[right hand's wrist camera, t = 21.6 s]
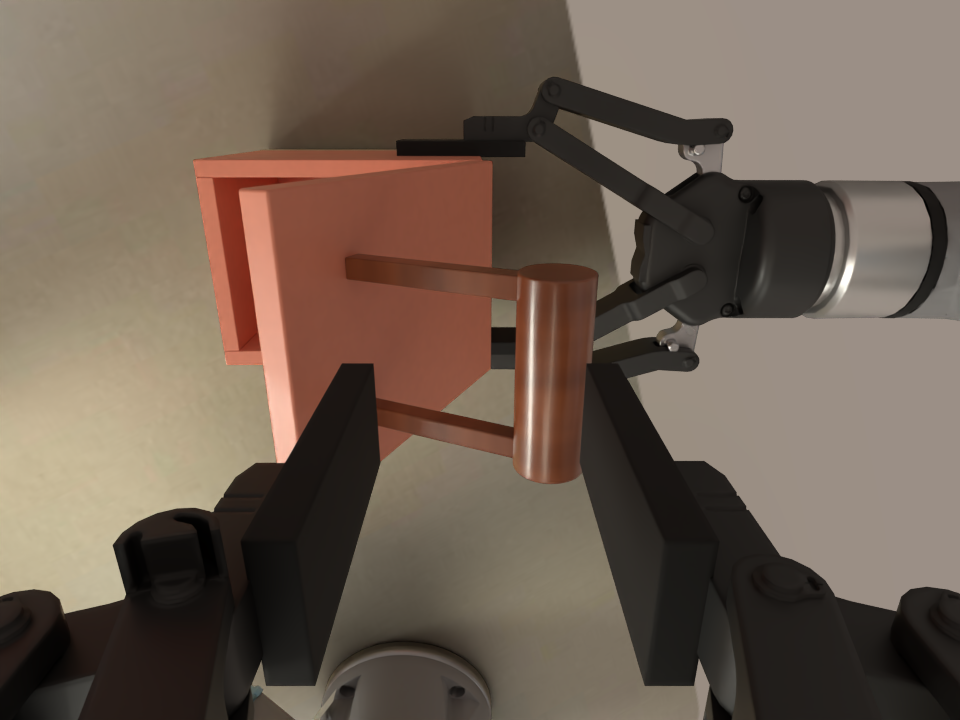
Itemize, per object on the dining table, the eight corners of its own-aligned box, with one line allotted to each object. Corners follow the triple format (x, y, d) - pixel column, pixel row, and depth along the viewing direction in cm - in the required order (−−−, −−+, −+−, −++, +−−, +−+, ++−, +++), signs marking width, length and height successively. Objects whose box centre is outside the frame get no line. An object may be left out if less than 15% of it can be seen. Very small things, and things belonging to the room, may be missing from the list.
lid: (282, 515, 19) (543, 601, 16) (236, 188, 16) (563, 207, 12) (473, 365, 31) (645, 396, 28) (472, 160, 27) (671, 165, 24)
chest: (284, 305, 41) (226, 365, 31) (265, 149, 37) (192, 159, 27) (477, 304, 41) (482, 363, 31) (477, 149, 38) (482, 159, 28)
